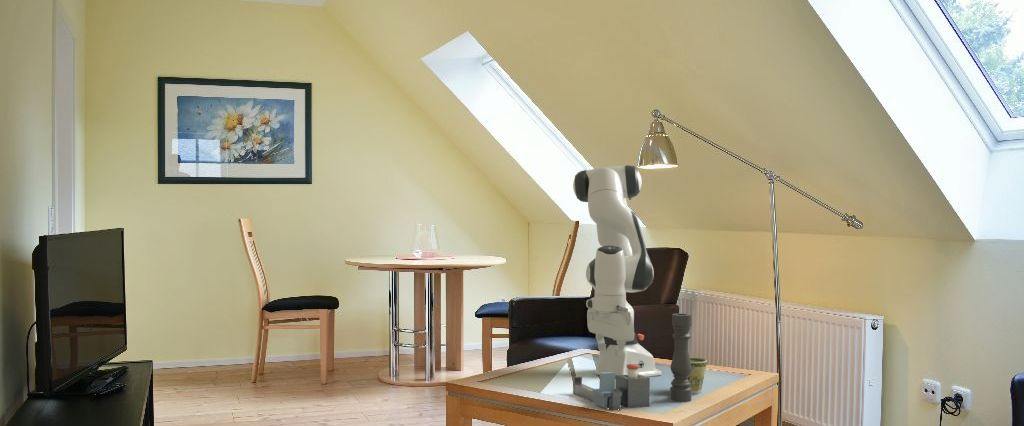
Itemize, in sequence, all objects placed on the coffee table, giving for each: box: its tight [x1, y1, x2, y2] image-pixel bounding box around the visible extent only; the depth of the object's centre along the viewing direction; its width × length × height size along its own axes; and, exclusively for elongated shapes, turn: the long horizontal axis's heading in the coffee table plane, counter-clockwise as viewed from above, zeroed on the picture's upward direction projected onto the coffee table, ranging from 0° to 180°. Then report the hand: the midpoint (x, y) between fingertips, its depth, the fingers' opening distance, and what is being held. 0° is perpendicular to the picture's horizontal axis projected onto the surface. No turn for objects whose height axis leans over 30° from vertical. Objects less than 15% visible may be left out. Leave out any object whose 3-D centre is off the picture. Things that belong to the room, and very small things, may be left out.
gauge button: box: [627, 364, 639, 378], centre depth 253 cm, size 3×3×6 cm
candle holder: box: [669, 312, 693, 403], centre depth 260 cm, size 6×6×25 cm
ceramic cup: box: [688, 356, 708, 395], centre depth 273 cm, size 13×10×10 cm
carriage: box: [593, 372, 622, 409], centre depth 250 cm, size 6×6×9 cm
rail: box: [572, 376, 621, 411], centre depth 256 cm, size 2×24×5 cm, turn 23°
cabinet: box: [615, 374, 651, 409], centre depth 253 cm, size 7×7×8 cm
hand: (610, 352), depth 250 cm, fingers open, 8 cm apart
